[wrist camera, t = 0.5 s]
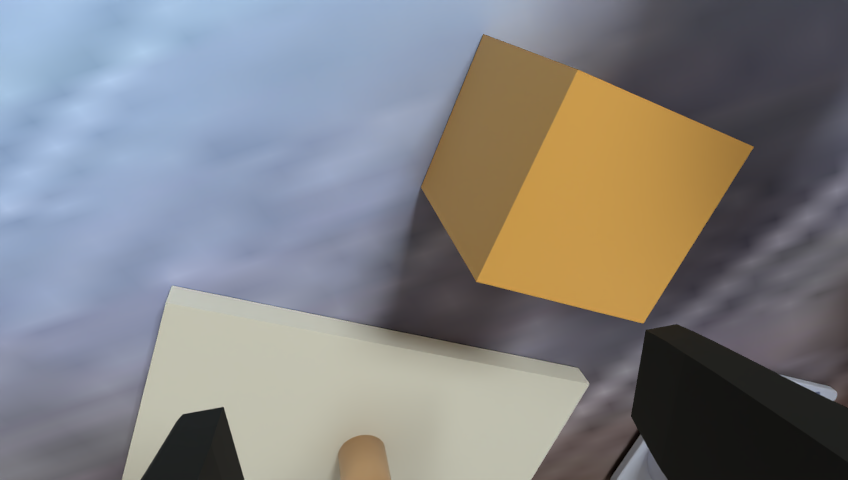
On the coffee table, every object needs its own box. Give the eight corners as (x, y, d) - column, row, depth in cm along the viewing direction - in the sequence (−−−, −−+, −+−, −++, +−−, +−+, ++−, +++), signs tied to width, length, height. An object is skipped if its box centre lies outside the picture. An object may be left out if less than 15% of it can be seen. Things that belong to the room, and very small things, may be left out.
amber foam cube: (617, 92, 18) (754, 147, 13) (548, 226, 20) (643, 323, 14) (483, 34, 16) (577, 69, 11) (420, 187, 18) (475, 281, 13)
